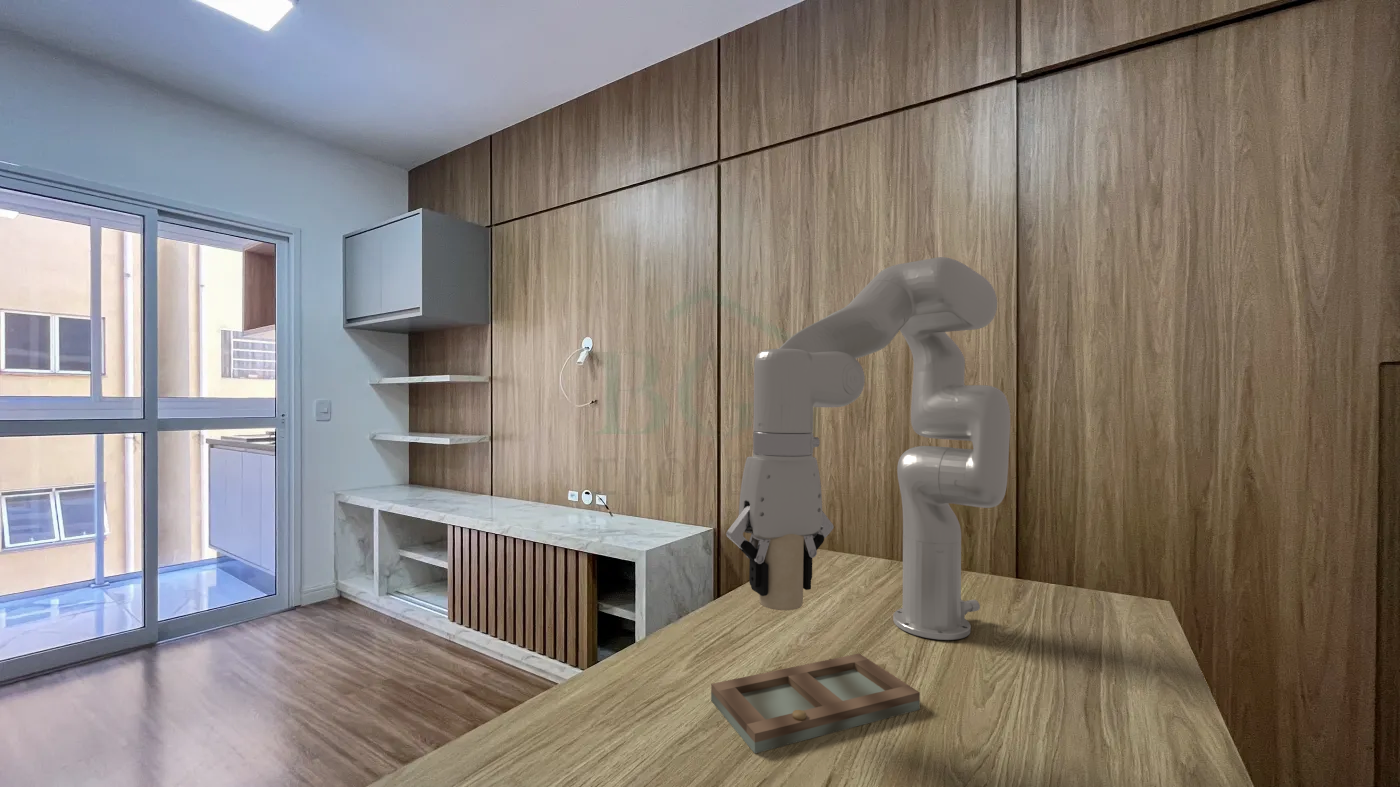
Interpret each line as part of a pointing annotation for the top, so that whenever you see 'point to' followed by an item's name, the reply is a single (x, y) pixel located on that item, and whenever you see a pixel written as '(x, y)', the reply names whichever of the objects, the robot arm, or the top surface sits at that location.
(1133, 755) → the top surface
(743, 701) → the divided tray
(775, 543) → the candle
